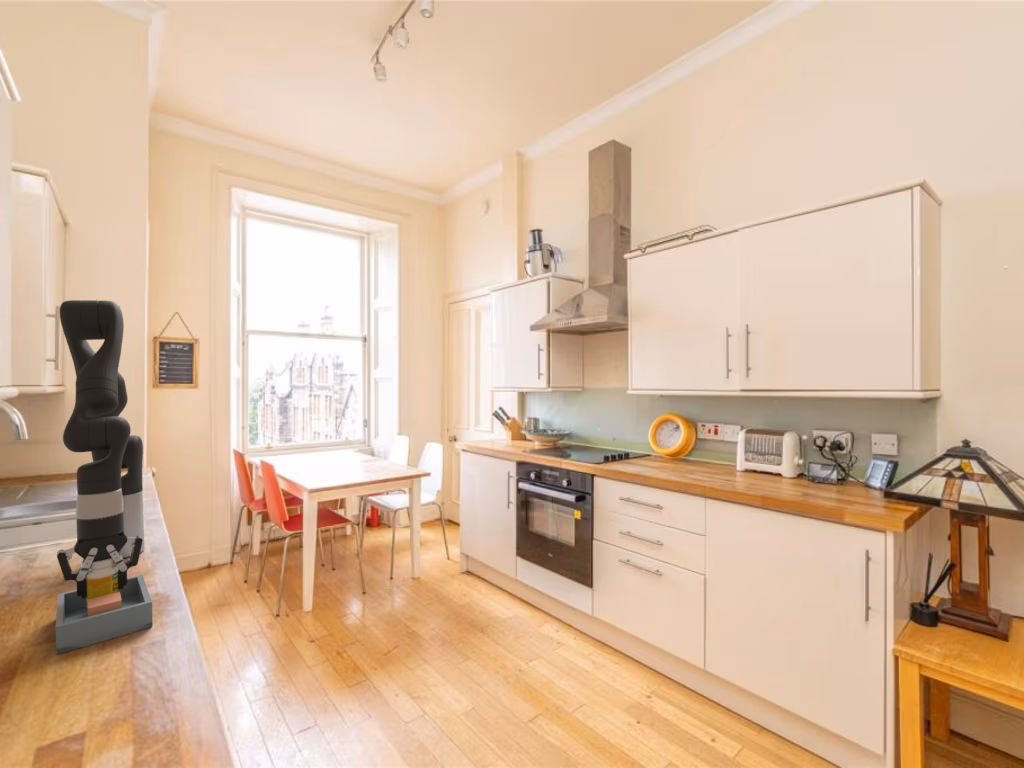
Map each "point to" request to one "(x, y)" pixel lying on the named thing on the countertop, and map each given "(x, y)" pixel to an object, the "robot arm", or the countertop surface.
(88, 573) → the supplement bottle
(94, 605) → the terracotta cube
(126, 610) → the tote
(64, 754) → the countertop surface
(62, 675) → the countertop surface
